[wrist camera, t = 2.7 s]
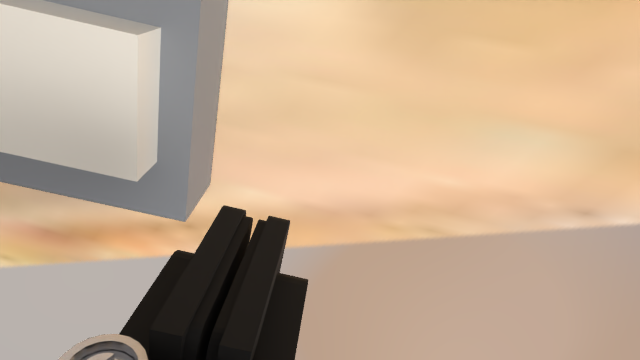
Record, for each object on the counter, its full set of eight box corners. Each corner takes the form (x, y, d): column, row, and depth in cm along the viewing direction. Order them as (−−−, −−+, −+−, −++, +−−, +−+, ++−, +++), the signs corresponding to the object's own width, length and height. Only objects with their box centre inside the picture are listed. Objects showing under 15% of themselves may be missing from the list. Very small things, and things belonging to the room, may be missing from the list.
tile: (-39, 118, 19) (-79, 134, 17) (-68, -26, 16) (-120, -25, 14) (157, 161, 19) (136, 181, 18) (161, 27, 17) (137, 35, 15)
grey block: (-67, 123, 24) (-141, 151, 20) (-128, -132, 18) (-245, -155, 15) (210, 184, 24) (185, 221, 21) (233, -47, 19) (204, -49, 15)
